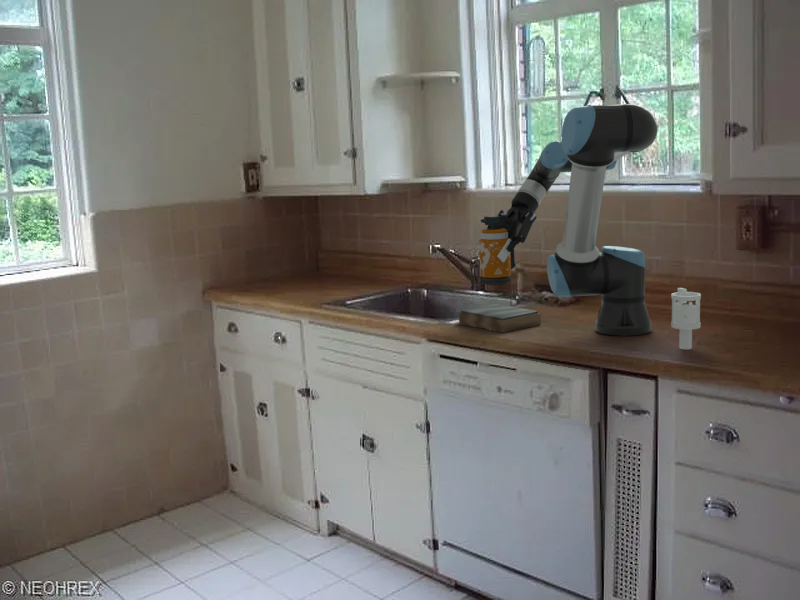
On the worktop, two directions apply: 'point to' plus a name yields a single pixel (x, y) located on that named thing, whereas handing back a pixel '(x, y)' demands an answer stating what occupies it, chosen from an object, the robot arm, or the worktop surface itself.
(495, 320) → the stand
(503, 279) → the canister
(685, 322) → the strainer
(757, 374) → the worktop surface
